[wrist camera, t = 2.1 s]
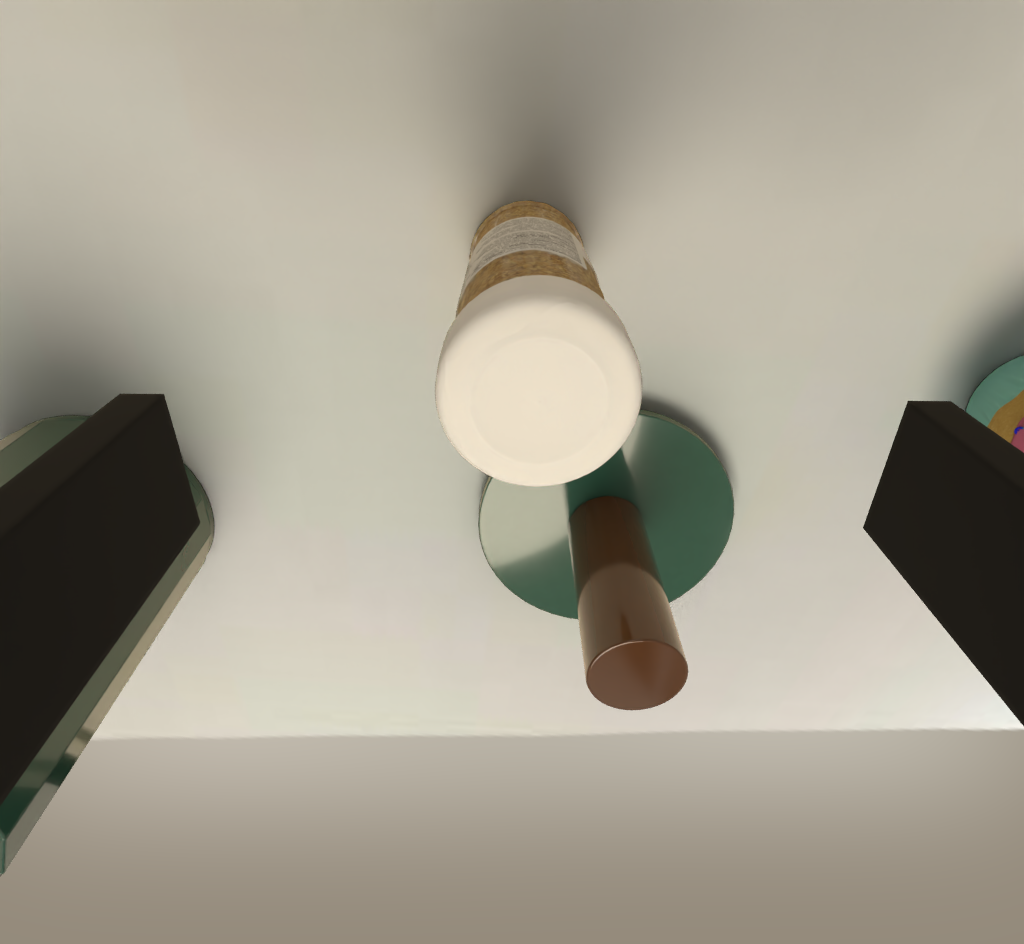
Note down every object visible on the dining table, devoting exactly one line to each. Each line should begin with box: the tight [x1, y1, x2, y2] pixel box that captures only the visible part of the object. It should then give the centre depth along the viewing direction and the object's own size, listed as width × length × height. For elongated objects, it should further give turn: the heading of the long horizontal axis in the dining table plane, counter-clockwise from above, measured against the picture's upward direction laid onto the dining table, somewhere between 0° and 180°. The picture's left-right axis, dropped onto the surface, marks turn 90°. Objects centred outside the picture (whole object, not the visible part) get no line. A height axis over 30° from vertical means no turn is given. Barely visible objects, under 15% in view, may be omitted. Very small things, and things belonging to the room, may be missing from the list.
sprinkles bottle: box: [435, 201, 642, 486], centre depth 20 cm, size 5×5×13 cm
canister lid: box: [478, 409, 734, 710], centre depth 27 cm, size 12×12×10 cm
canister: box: [0, 415, 214, 876], centre depth 25 cm, size 10×10×16 cm
